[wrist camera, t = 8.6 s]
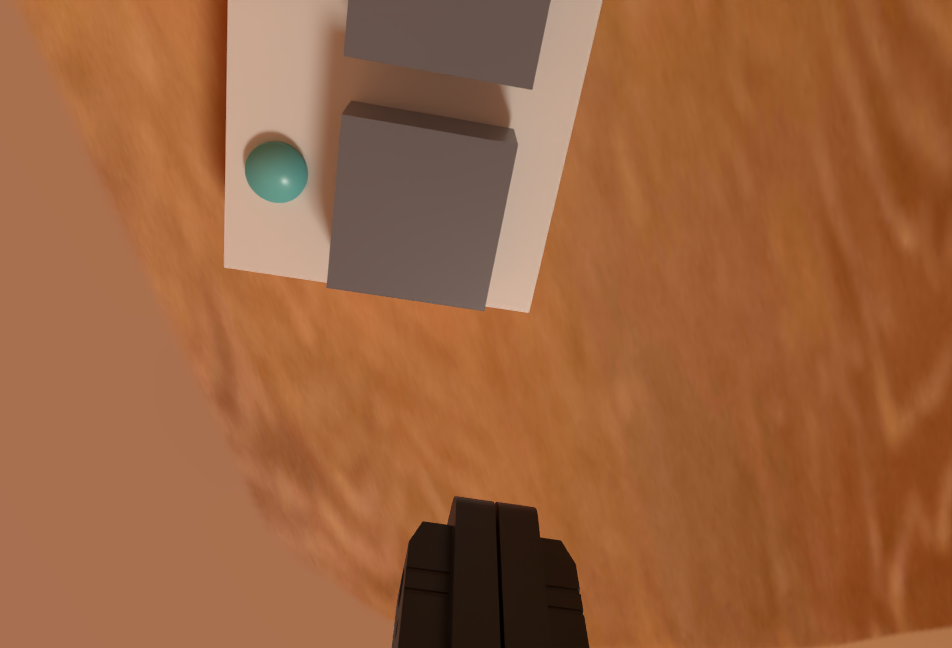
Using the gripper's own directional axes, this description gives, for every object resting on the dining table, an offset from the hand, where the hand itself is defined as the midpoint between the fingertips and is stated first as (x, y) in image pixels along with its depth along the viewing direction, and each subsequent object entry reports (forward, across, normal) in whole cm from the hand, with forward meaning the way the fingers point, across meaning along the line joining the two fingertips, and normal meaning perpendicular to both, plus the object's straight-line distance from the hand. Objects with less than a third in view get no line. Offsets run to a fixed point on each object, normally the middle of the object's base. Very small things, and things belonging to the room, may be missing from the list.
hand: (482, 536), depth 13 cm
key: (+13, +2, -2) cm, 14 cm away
